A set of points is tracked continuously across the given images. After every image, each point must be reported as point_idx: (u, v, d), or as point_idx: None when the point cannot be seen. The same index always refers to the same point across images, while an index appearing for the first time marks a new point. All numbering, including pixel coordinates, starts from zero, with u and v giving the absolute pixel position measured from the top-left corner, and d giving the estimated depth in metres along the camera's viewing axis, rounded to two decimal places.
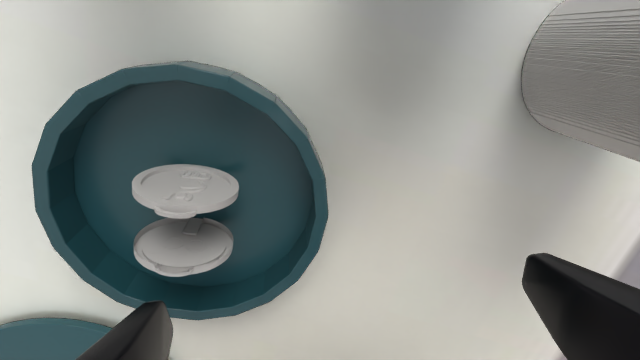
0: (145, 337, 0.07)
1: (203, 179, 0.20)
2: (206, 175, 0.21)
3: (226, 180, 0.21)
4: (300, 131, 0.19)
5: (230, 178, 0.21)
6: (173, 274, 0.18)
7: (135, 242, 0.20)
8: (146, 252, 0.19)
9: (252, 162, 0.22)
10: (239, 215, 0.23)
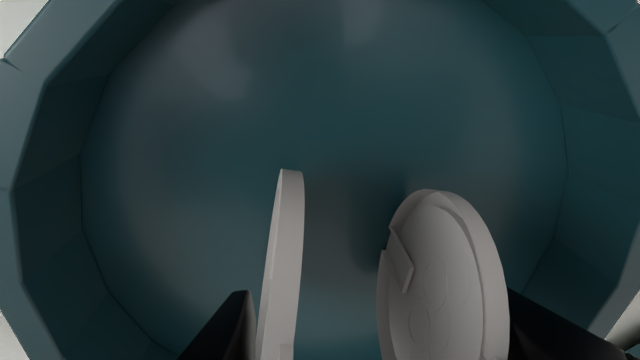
0: (244, 324, 0.07)
1: None
2: None
3: None
4: None
5: (278, 179, 0.08)
6: None
7: None
8: None
9: (259, 119, 0.09)
10: (394, 155, 0.10)
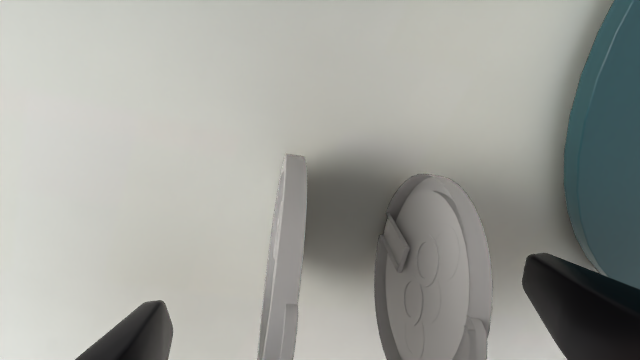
0: (145, 337, 0.07)
1: None
2: None
3: None
4: None
5: (282, 164, 0.09)
6: None
7: (398, 359, 0.10)
8: None
9: None
10: None
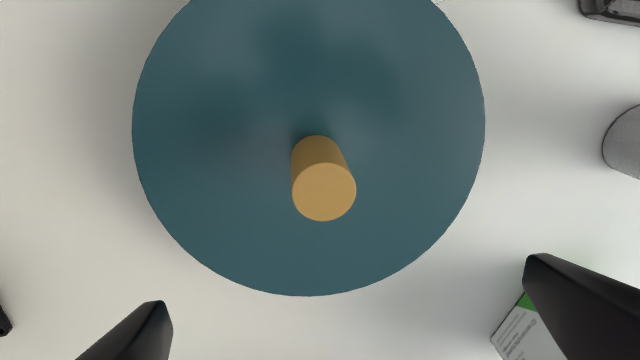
0: (145, 337, 0.07)
1: None
2: None
3: None
4: None
5: None
6: None
7: None
8: None
9: None
10: None
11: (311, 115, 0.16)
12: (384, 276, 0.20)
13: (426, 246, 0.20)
